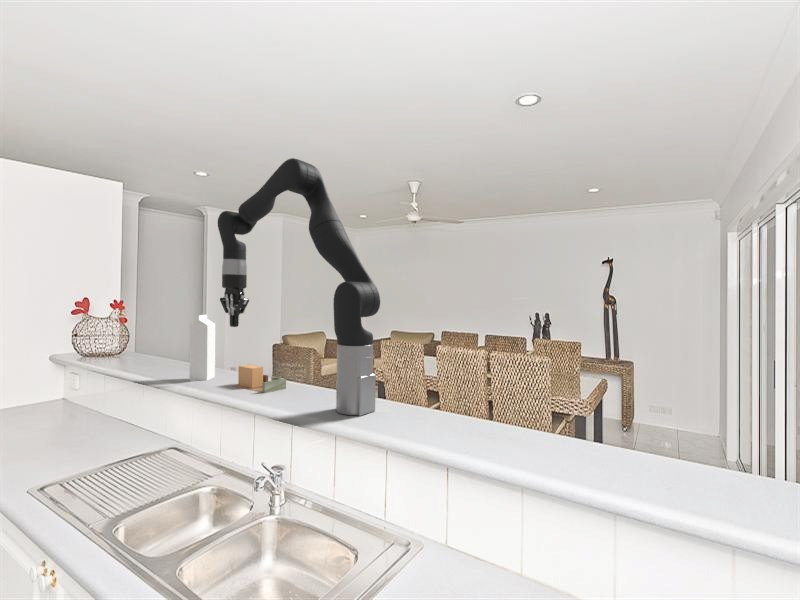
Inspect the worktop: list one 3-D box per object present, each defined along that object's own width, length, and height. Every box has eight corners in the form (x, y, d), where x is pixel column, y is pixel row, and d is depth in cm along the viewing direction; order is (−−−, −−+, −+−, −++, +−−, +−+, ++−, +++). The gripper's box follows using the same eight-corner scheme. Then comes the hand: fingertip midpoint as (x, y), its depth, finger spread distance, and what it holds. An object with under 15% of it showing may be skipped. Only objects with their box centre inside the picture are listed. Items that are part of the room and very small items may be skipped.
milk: (189, 381, 148) (189, 315, 148) (198, 377, 155) (198, 314, 154) (207, 381, 148) (207, 315, 148) (215, 378, 154) (215, 314, 154)
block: (262, 385, 141) (263, 366, 141) (252, 388, 138) (252, 368, 137) (249, 383, 145) (249, 364, 145) (238, 384, 142) (238, 366, 141)
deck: (286, 390, 138) (286, 378, 138) (264, 394, 131) (264, 382, 131) (253, 383, 147) (253, 372, 147) (231, 387, 140) (231, 376, 140)
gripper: (257, 274, 145) (256, 327, 145) (232, 274, 153) (231, 324, 153) (236, 273, 139) (236, 328, 139) (212, 273, 146) (211, 326, 147)
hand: (233, 326), depth 146 cm, fingers closed
